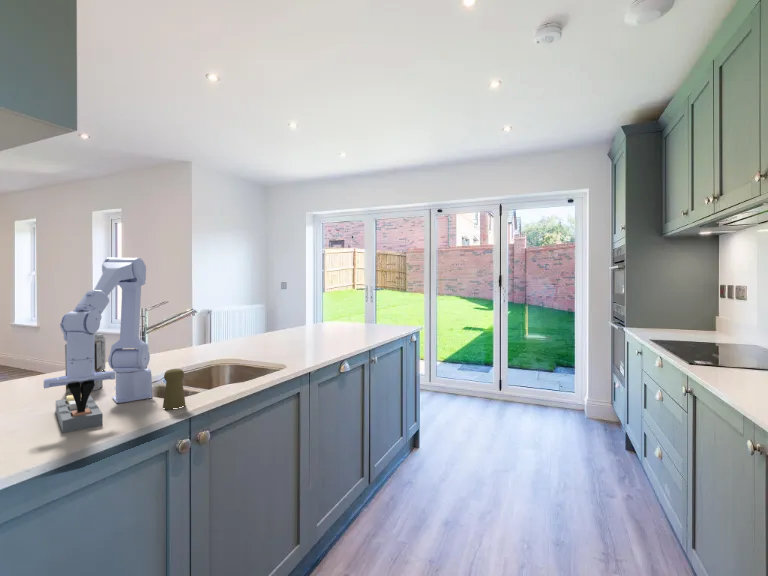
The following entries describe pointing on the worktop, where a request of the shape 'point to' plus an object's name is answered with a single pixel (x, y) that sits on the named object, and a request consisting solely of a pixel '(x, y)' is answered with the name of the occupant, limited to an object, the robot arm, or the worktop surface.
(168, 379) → the cork
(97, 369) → the coffee box
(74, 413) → the terracotta key
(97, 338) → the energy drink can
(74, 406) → the grey key
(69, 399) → the brass key
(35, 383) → the worktop surface
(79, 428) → the keypad
